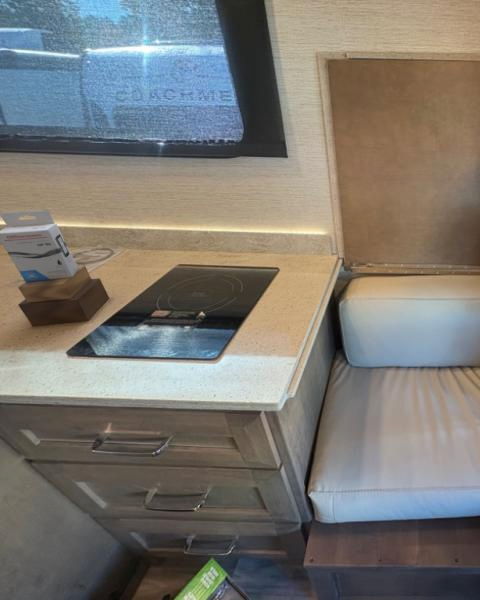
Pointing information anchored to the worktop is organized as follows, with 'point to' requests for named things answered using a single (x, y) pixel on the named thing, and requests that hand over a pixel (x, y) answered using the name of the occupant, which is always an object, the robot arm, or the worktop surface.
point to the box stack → (63, 299)
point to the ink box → (37, 246)
